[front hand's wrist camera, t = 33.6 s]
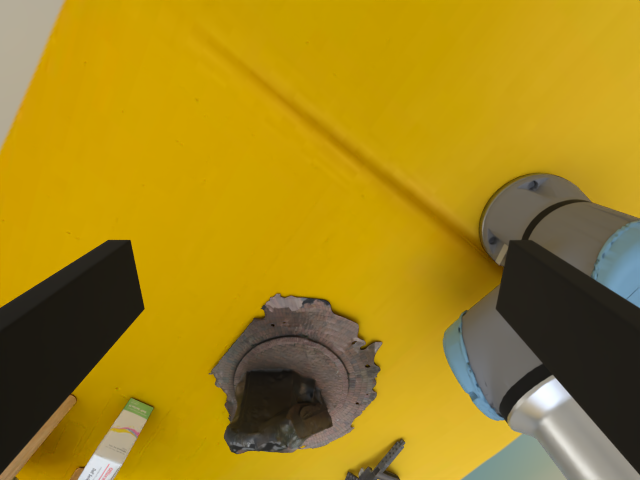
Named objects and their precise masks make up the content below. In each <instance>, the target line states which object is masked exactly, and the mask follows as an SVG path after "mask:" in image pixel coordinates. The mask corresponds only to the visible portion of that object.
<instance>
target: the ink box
mask: <svg viewBox="0 0 640 480" xmlns="http://www.w3.org/2000/svg"><path fill="white" fill-rule="evenodd" d="M152 410H153V407H151V406H149V405H146V404H144V403H142V402H139V401H137V400H135V399H133V398H131V399H130V400H129V402H128V403H127V405H126V406H125V408H124V409H123V410H122V412H121V413H120V415H119V416H118V418H117V419H116V421H115V422H114V424H113V425H112V427H111V428H110V430H109V431H108V433H107V434H106V436H105V437H104V439H103V440H102V442H101V443H100V445H99V446H98V448H97V449H96V451H95V452H94V454H93V455H92V457H91V458H90V460H89V462H88V463H87V465H86V467H85V468H84V470H83V471H82V473H81V475H80V476H79V478H78V480H113V479H114V477H115V476H116V474H117V473H118V471H119V469H120V468H121V466H122V464H123V463H124V461H125V459H126V457H127V455H128V454H129V452H130V450H131V448H132V446H133V445H134V443H135V441H136V439H137V437H138V436H139V434H140V432H141V430H142V428H143V427H144V425H145V423H146V421H147V419H148V418H149V416H150V414H151V412H152Z"/></svg>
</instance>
